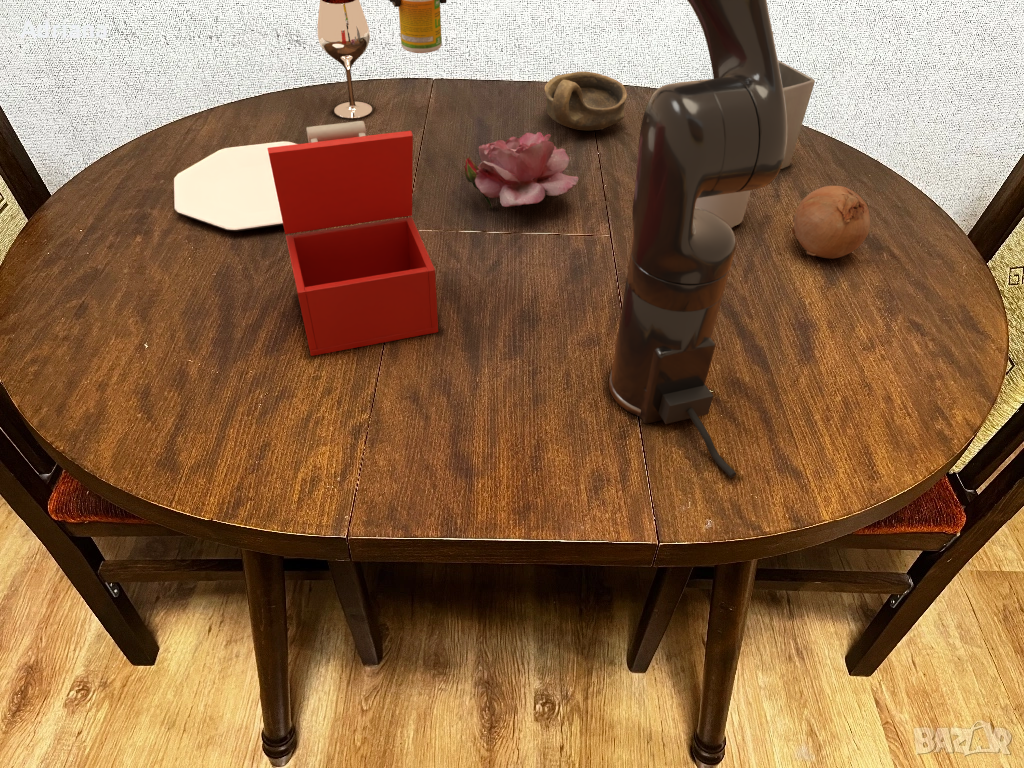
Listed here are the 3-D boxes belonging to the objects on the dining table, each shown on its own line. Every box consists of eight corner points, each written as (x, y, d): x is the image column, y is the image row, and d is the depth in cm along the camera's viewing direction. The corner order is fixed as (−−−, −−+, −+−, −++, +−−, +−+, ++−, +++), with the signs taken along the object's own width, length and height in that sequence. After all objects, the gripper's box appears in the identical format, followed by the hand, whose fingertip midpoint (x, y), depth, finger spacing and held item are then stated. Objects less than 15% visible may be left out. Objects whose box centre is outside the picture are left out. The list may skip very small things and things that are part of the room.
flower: (600, 189, 107) (586, 120, 102) (519, 235, 102) (500, 165, 96) (537, 175, 118) (521, 112, 113) (461, 216, 113) (440, 152, 107)
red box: (438, 332, 89) (435, 269, 82) (310, 356, 85) (297, 292, 79) (416, 277, 96) (411, 216, 90) (298, 297, 93) (285, 235, 86)
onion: (837, 281, 103) (886, 242, 94) (774, 257, 102) (816, 215, 93) (844, 226, 107) (891, 183, 98) (783, 202, 106) (825, 157, 97)
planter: (788, 190, 114) (829, 59, 101) (735, 182, 116) (768, 51, 102) (790, 142, 126) (826, 19, 113) (741, 135, 127) (771, 13, 114)
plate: (176, 162, 116) (173, 153, 115) (333, 144, 121) (331, 135, 120) (177, 247, 99) (174, 237, 98) (359, 221, 105) (357, 211, 104)
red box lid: (413, 135, 79) (402, 104, 81) (268, 153, 76) (261, 119, 78) (412, 215, 90) (403, 185, 92) (285, 234, 86) (278, 203, 88)
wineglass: (355, 125, 126) (341, 10, 114) (318, 113, 129) (300, -1, 117) (387, 108, 131) (376, -4, 119) (351, 96, 134) (337, -14, 122)
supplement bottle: (443, 53, 100) (440, -28, 94) (402, 55, 100) (396, -27, 93) (439, 38, 104) (436, -40, 98) (400, 40, 103) (394, -40, 97)
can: (742, 236, 105) (764, 155, 97) (687, 229, 106) (705, 148, 98) (741, 208, 110) (762, 129, 102) (689, 202, 111) (706, 123, 103)
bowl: (637, 118, 131) (645, 59, 124) (592, 159, 120) (598, 97, 113) (566, 99, 136) (570, 41, 129) (516, 137, 125) (518, 76, 118)
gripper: (353, -149, 82) (369, 17, 94) (480, -152, 86) (481, 8, 97) (341, -161, 87) (358, -2, 99) (462, -164, 91) (465, -10, 103)
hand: (419, 2), depth 98 cm, fingers closed on supplement bottle, 5 cm apart
